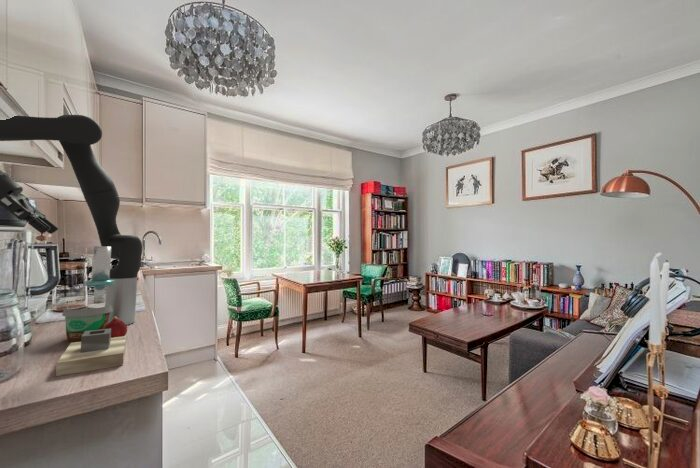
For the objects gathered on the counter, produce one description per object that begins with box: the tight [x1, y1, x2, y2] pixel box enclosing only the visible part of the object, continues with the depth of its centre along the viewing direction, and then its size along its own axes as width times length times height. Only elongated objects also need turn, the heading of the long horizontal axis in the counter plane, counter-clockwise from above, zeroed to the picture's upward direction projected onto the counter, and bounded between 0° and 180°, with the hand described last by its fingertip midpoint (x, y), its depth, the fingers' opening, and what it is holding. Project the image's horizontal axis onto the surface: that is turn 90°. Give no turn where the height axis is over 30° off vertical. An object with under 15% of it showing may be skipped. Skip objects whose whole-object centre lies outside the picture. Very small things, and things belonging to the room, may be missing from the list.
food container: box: [61, 305, 113, 343], centre depth 91 cm, size 12×6×10 cm, turn 114°
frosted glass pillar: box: [84, 245, 115, 305], centre depth 77 cm, size 6×6×15 cm
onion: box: [104, 316, 128, 338], centre depth 89 cm, size 6×6×8 cm
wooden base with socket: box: [55, 328, 127, 377], centre depth 76 cm, size 16×12×7 cm
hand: (51, 231), depth 78 cm, fingers open, 8 cm apart
